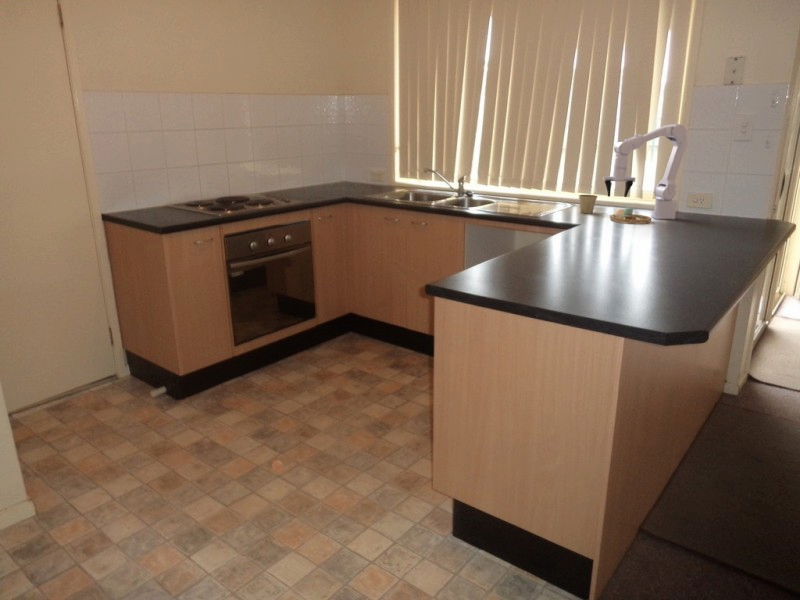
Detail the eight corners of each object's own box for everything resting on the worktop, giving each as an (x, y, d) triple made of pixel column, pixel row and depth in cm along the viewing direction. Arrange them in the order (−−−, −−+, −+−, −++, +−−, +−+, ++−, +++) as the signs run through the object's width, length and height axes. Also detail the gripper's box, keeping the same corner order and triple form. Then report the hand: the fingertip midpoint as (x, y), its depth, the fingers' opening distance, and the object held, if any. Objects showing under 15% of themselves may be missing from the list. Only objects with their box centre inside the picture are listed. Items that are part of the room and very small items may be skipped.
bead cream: (622, 218, 287) (623, 209, 286) (624, 219, 283) (625, 210, 282) (613, 218, 288) (614, 208, 286) (615, 219, 284) (616, 210, 283)
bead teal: (630, 217, 291) (632, 207, 290) (632, 218, 288) (634, 209, 286) (622, 216, 292) (623, 207, 291) (624, 218, 288) (625, 208, 287)
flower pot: (573, 211, 310) (574, 194, 307) (588, 210, 313) (590, 194, 310) (583, 214, 301) (585, 197, 299) (599, 213, 304) (601, 196, 302)
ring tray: (645, 218, 292) (645, 213, 292) (654, 224, 275) (655, 219, 275) (606, 216, 295) (607, 212, 294) (614, 223, 278) (614, 218, 277)
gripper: (634, 167, 287) (630, 195, 291) (603, 166, 289) (600, 195, 293) (637, 168, 280) (634, 197, 285) (605, 168, 282) (602, 197, 286)
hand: (617, 196), depth 288 cm, fingers open, 7 cm apart
